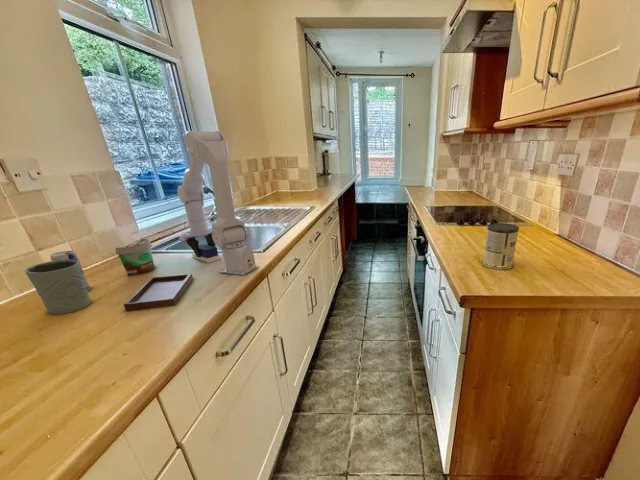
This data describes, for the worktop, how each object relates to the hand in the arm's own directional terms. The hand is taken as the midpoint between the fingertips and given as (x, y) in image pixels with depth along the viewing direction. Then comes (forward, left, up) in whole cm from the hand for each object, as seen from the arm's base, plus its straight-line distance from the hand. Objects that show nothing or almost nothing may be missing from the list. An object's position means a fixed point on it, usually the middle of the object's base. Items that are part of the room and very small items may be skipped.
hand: (205, 254), depth 123 cm
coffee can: (-109, -19, -2) cm, 111 cm away
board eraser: (0, 0, -1) cm, 1 cm away
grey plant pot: (+6, +43, -2) cm, 43 cm away
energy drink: (+15, +35, -2) cm, 38 cm away
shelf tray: (-11, +30, -1) cm, 32 cm away
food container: (+11, +16, -2) cm, 19 cm away
